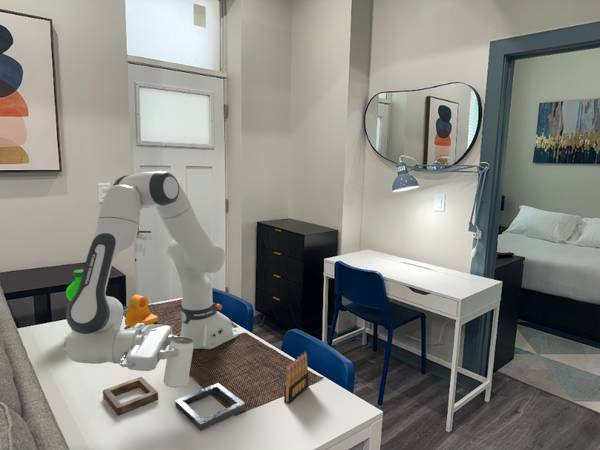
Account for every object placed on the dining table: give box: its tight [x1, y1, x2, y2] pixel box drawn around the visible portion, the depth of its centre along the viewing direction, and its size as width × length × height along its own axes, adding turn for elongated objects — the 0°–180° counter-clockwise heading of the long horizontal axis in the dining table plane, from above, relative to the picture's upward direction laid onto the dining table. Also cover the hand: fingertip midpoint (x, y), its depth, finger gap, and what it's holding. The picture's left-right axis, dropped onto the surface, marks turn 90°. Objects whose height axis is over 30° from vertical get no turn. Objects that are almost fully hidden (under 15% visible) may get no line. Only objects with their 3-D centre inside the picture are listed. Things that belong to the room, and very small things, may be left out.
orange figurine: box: [124, 294, 159, 328], centre depth 175 cm, size 11×7×12 cm, turn 143°
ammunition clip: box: [283, 351, 309, 404], centre depth 127 cm, size 11×2×12 cm, turn 147°
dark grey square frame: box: [175, 382, 246, 432], centre depth 121 cm, size 14×14×2 cm
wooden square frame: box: [102, 376, 159, 417], centre depth 124 cm, size 12×12×2 cm
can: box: [163, 336, 194, 389], centre depth 117 cm, size 6×6×12 cm
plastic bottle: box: [65, 268, 84, 332], centre depth 165 cm, size 10×10×25 cm
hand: (181, 346), depth 117 cm, fingers closed on can, 5 cm apart
